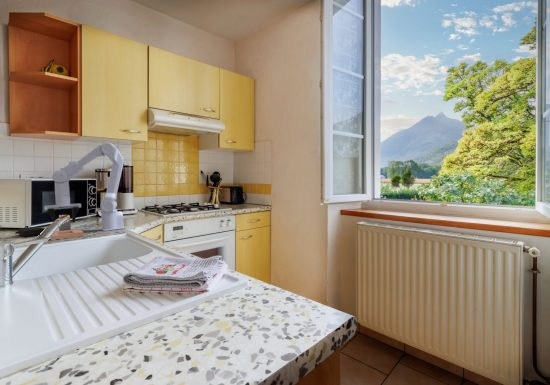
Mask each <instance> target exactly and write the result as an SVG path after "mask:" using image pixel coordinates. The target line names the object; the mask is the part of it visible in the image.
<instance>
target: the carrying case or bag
mask: <svg viewBox="0 0 550 385" xmlns="http://www.w3.org/2000/svg"><path fill="white" fill-rule="evenodd" d="M44 229H46V228H45V227H40V226H33V227H25V228H19V229H18V230H17V231H15V235H20V236H22V237H25V238H30V237H37V236H38V235H39V234H40V233H41V232H42V231H43V230H44ZM39 236H40V235H39ZM39 236H38V237H39Z"/></svg>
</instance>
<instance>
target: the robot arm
mask: <svg viewBox="0 0 550 385" xmlns="http://www.w3.org/2000/svg"><path fill="white" fill-rule="evenodd" d="M120 151H121V150H120V149H119V148H118V147H117V146H115V145H114V144H113V143H111V142H109V141H108V142H107V141H105V142H103V143H102V144H101V145H97V147H94V149H92V150H91V151H90V152H88V153H86V155H85V156H83V157H81V158H80V159H79V160H73V161H72V160H71V161H69V162H68V164H67V165H66V166H64V167H61V168H59V170H56V171H54V173H53V174H52V180H53V181H54V194H55V198H54V199H55V204H52V205H44V208H43V209H44V211H47V213H48V215H49V217H50V218H51V220H52V222H53V221H55V220H56V210H62V209H70V210H71V222H72V223H76V218H77V215H78V213H79V211H80V208H82V203H71V197H70V196H71V194H70V183H69V182H70V180H71V178H73V177H75V176H76V175H78V174H79V173H81V172H82V171H84V166H86V165H87V164H89V163H90V162H92V161H94V160H95V159H97V158H100V157H105V156H106V157H108V158H109V160H110V161H111V162H112V165H111V171H110V174H109V179H108V182H107V186H106V187H107V188H106V192H105V194H104V198H103V200H101V203H100V209H101V226H102V227H100V228H99V230H100V231H104V232H107V231H115V230H123V229H125V227H124V225H125V224H124V215H123V214H124V213H123V212H122V211H121V210H120V211H118V209H117V207H118V203H117V202H118V201H117V194H118V192H119V191H118V190H119V185H120V181H121V177H122V171H123V167H124V162H125V161H124V157H123V156H122V154H121V152H120Z"/></svg>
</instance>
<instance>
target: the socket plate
mask: <svg viewBox="0 0 550 385" xmlns="http://www.w3.org/2000/svg"><path fill="white" fill-rule="evenodd" d="M53 232H54V234H53V235H52V236H51V239H60V240H64V239H63V238H67V239H74V238H79V237H84V236H85V234H84V233H85V232H84V231H83V230H80V229H77V228H75V229H71V230H65V231H59V230H57V231H53Z"/></svg>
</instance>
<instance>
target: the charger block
mask: <svg viewBox="0 0 550 385" xmlns="http://www.w3.org/2000/svg"><path fill="white" fill-rule="evenodd" d="M65 230H72V226H71V219H70V220H69V221H68V222H66V223H64V224H62V225H61V226H60V227H59V226H58V231H65Z"/></svg>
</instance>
